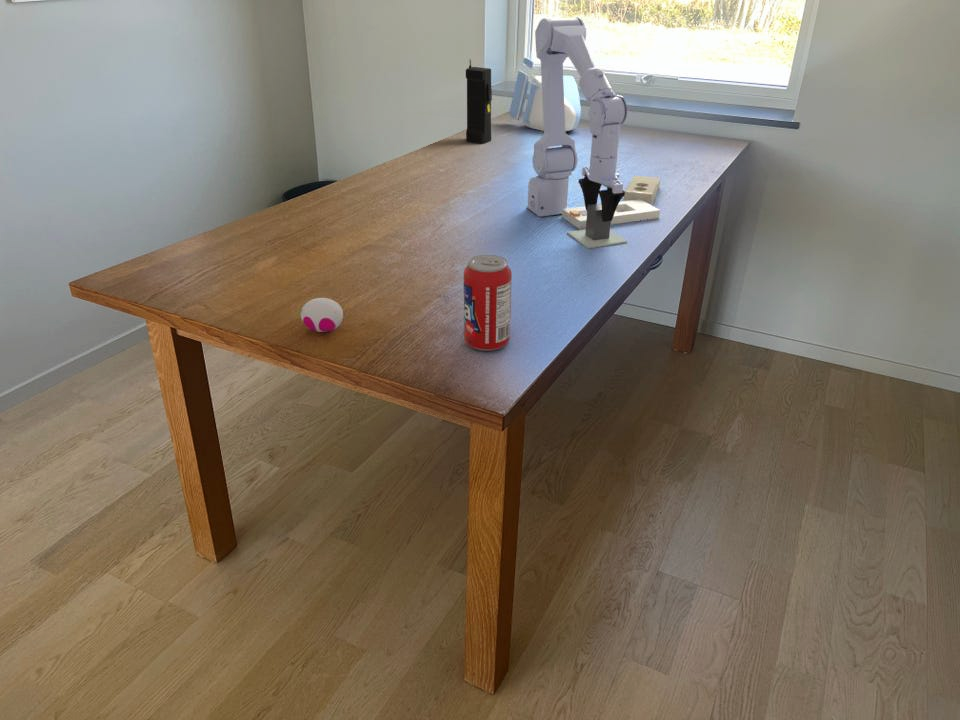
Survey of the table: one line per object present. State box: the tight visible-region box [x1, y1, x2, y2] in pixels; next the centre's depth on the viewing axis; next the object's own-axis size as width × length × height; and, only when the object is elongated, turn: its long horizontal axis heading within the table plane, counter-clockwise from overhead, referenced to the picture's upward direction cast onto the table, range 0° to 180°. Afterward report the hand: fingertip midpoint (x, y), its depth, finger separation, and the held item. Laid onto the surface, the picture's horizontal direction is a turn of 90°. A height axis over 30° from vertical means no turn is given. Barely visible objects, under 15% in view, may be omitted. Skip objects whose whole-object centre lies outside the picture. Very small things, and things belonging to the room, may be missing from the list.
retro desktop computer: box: [508, 57, 582, 132], centre depth 257 cm, size 25×23×16 cm
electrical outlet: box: [622, 175, 661, 206], centre depth 197 cm, size 7×4×18 cm
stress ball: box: [300, 297, 344, 333], centre depth 131 cm, size 8×8×7 cm
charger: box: [585, 203, 611, 240], centre depth 170 cm, size 4×4×7 cm
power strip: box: [561, 199, 661, 230], centre depth 183 cm, size 22×9×3 cm, turn 111°
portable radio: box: [465, 60, 493, 144], centre depth 241 cm, size 8×6×25 cm
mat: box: [566, 228, 628, 250], centre depth 172 cm, size 10×10×1 cm
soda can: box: [463, 254, 513, 352], centre depth 125 cm, size 8×8×15 cm
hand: (598, 215), depth 169 cm, fingers open, 7 cm apart
